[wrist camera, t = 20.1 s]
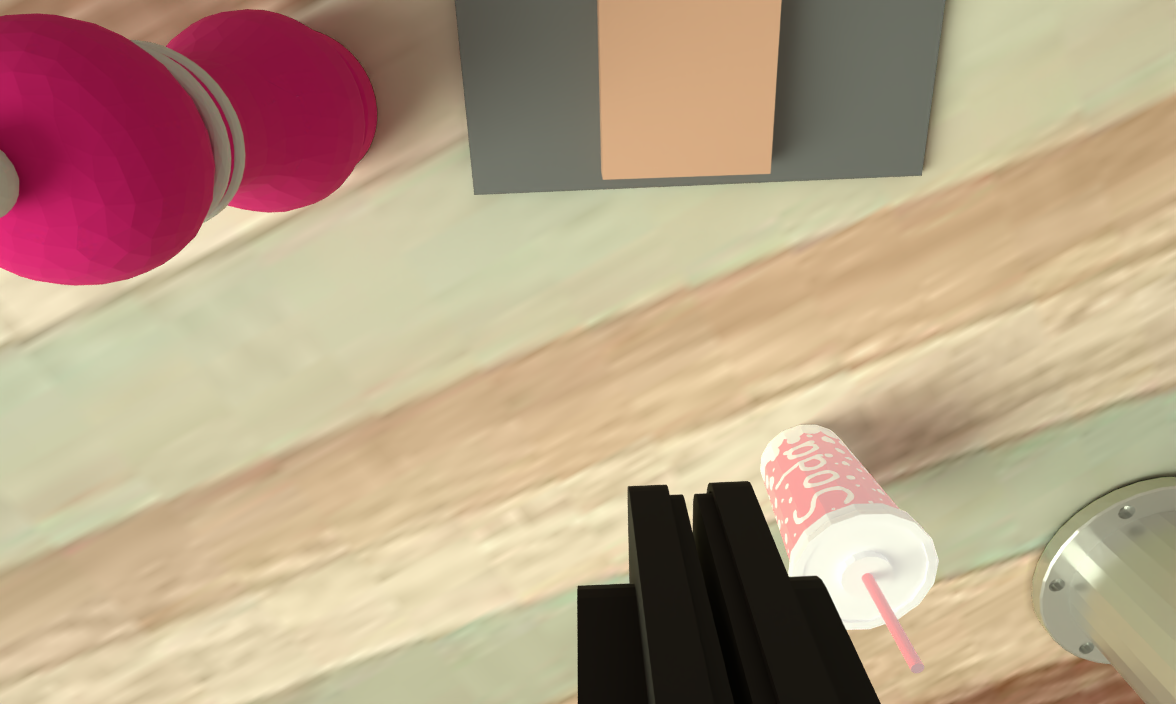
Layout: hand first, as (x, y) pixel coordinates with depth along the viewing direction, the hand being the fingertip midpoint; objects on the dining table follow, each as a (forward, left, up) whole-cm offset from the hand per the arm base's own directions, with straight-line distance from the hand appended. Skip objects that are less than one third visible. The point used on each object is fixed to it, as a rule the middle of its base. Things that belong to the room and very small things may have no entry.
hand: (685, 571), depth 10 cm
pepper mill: (+13, -5, -25) cm, 29 cm away
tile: (-7, -6, -24) cm, 25 cm away
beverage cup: (-10, +14, -25) cm, 31 cm away
